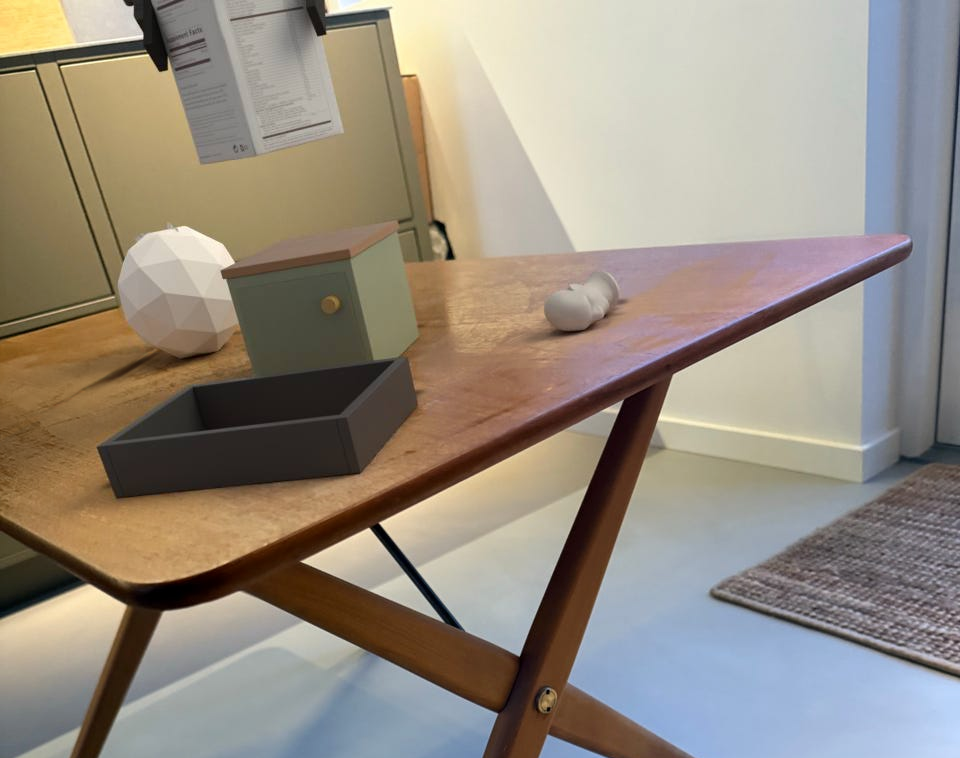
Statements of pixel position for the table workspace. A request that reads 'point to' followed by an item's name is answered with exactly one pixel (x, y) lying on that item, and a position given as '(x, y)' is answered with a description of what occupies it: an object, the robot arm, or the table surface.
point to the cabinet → (324, 300)
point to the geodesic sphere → (178, 292)
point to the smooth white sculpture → (582, 302)
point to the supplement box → (248, 75)
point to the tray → (262, 429)
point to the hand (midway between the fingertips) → (235, 40)
